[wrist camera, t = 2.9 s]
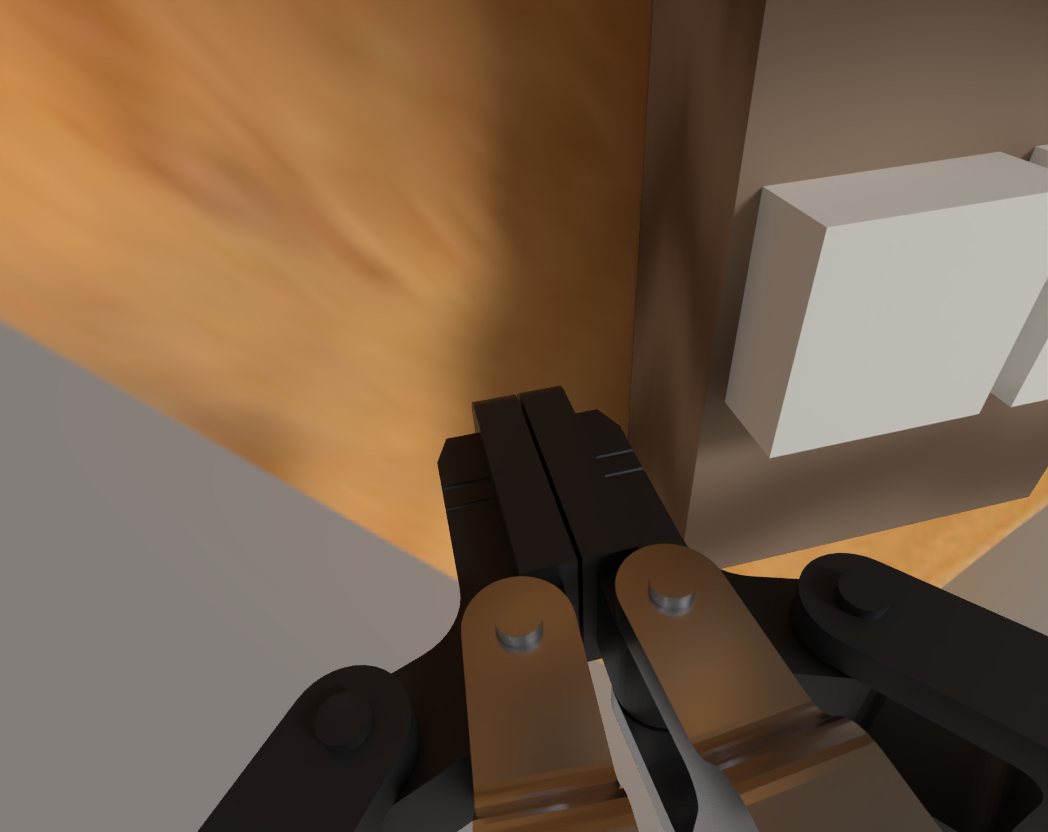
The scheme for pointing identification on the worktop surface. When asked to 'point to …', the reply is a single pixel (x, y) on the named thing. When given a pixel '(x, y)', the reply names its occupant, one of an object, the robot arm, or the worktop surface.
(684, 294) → the brown wooden block
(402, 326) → the worktop surface
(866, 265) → the tile
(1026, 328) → the tile
